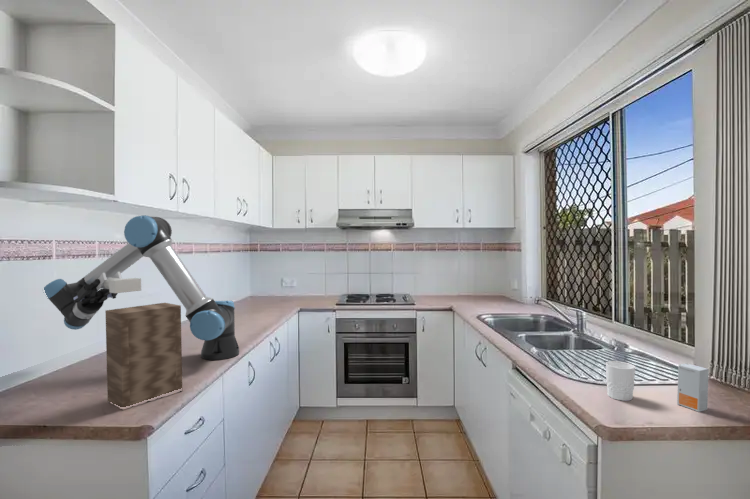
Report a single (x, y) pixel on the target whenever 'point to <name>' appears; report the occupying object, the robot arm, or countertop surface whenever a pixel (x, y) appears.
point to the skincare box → (692, 387)
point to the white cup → (620, 380)
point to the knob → (122, 285)
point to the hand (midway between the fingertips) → (112, 275)
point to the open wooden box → (143, 352)
